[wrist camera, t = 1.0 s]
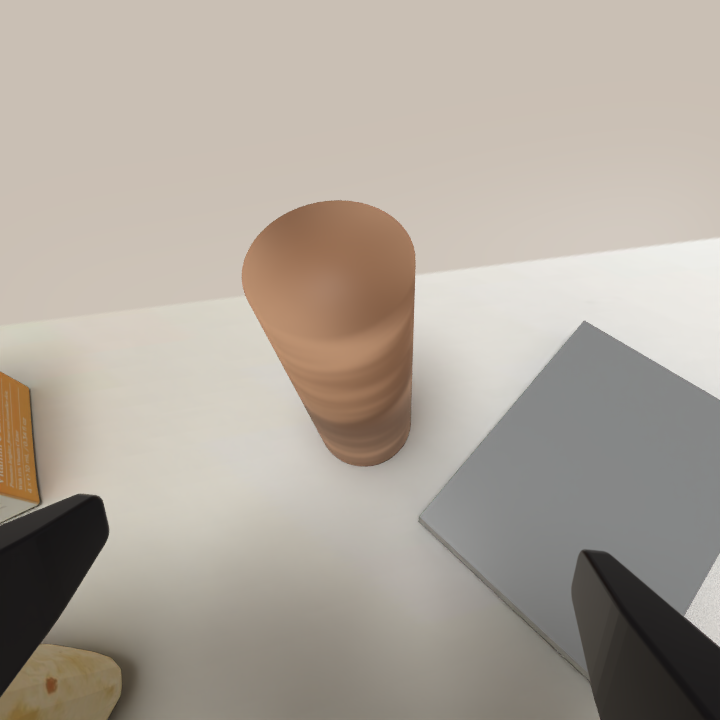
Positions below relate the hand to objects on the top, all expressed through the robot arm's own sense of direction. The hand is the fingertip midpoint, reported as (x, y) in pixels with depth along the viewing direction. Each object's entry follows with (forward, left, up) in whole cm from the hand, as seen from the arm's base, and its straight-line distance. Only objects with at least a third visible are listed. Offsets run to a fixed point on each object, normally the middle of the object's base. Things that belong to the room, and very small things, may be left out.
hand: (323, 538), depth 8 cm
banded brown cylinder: (+5, +5, -14) cm, 16 cm away
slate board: (+10, -5, -14) cm, 18 cm away
